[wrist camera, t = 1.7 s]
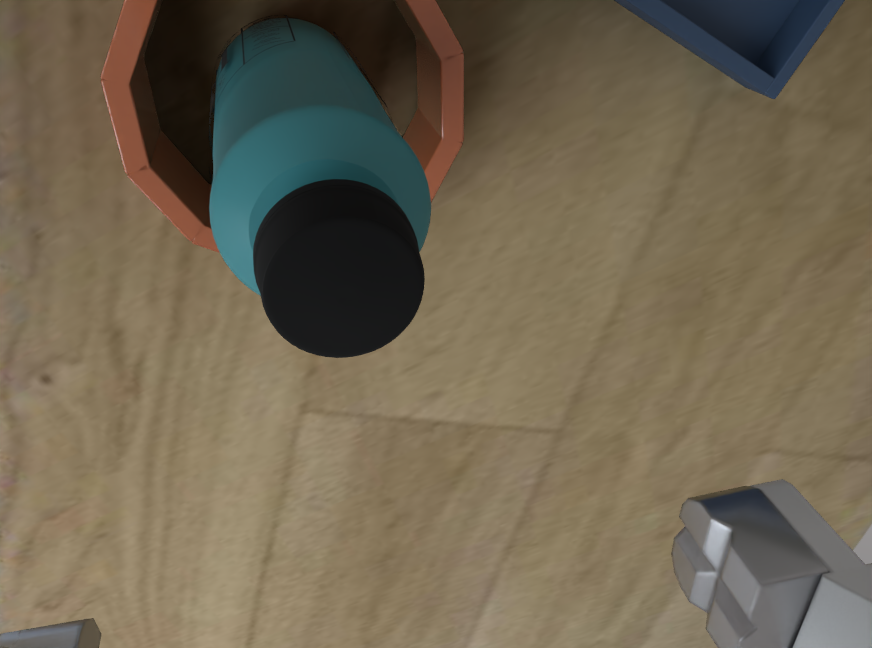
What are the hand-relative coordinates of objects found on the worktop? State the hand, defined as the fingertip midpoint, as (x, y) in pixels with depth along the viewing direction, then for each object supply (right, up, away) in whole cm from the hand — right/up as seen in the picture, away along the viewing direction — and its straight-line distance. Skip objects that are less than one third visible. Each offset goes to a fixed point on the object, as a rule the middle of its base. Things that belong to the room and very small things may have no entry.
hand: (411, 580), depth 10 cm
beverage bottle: (-6, +15, +23) cm, 28 cm away
